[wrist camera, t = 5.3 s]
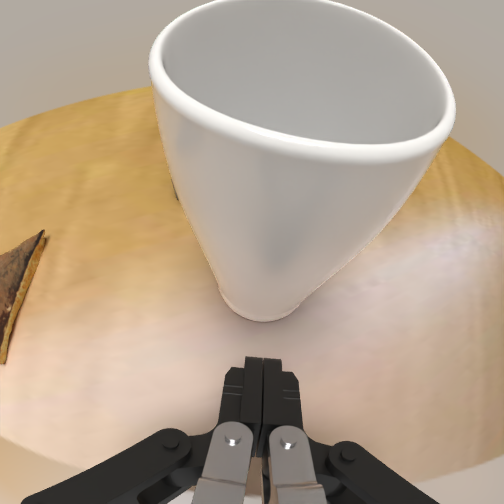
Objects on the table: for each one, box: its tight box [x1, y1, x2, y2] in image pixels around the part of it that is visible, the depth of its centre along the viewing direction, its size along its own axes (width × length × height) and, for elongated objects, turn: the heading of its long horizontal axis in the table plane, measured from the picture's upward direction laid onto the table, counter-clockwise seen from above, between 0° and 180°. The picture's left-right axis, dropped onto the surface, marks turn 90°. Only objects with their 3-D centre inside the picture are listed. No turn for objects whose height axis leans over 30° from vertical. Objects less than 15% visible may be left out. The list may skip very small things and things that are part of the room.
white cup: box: [148, 0, 456, 322], centre depth 12 cm, size 7×7×15 cm
